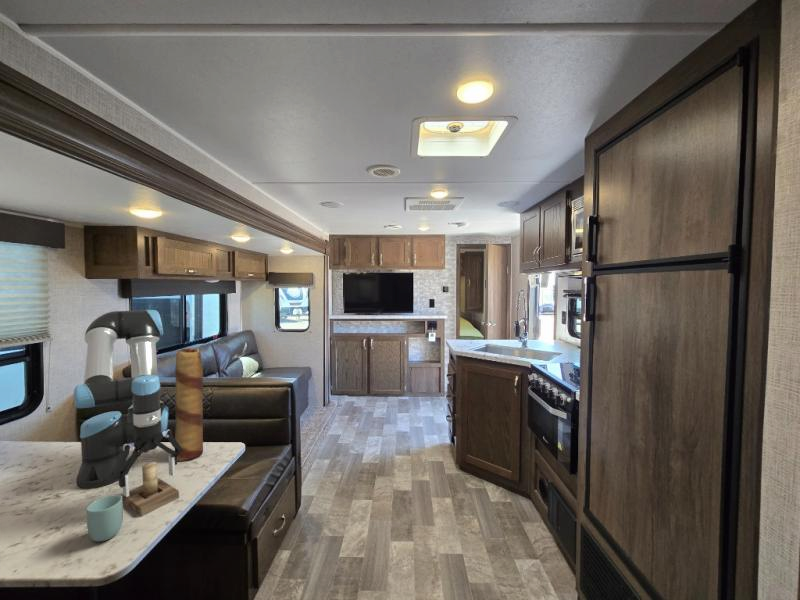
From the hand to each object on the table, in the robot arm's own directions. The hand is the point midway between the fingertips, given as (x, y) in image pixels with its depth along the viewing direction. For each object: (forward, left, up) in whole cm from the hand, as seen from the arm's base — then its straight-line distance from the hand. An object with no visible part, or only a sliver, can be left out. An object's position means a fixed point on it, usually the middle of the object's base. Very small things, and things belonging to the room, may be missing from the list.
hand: (150, 484), depth 117 cm
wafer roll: (-19, +22, -5) cm, 30 cm away
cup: (+8, -15, -5) cm, 18 cm away
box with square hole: (0, 0, -5) cm, 5 cm away
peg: (0, 0, -5) cm, 5 cm away
